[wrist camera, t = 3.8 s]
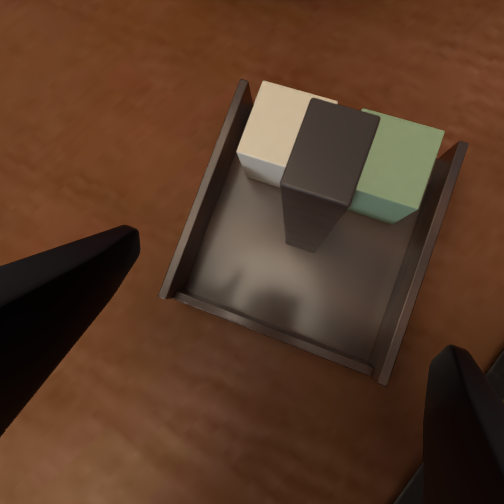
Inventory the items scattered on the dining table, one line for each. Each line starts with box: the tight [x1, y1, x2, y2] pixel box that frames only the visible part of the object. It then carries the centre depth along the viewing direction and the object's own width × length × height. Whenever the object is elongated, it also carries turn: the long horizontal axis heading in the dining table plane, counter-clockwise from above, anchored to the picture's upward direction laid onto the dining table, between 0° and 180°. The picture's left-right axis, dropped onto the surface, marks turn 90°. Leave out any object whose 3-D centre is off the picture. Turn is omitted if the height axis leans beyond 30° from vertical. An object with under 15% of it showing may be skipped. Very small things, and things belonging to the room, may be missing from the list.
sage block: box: [347, 108, 445, 224], centre depth 18 cm, size 4×4×4 cm
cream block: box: [237, 81, 338, 188], centre depth 18 cm, size 4×4×4 cm
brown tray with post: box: [158, 79, 469, 386], centre depth 14 cm, size 13×13×12 cm
